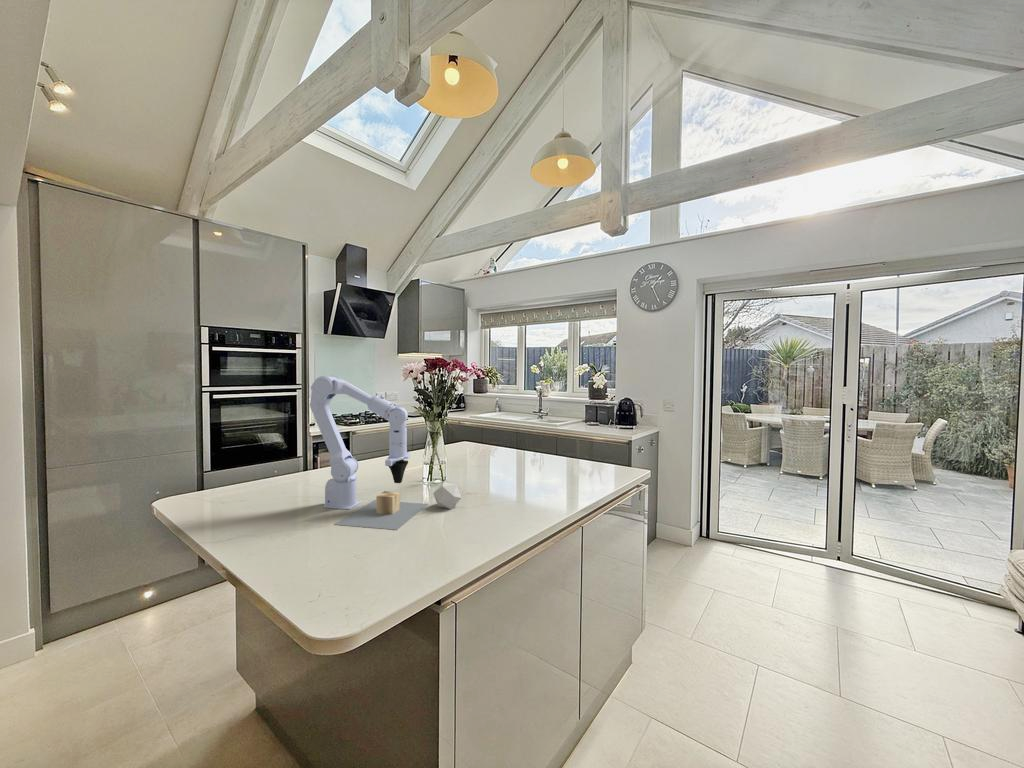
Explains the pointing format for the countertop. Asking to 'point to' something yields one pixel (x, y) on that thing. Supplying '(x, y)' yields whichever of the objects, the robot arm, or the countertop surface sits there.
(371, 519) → the rubber mat
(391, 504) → the oak block
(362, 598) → the countertop surface
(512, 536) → the countertop surface
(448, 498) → the die
